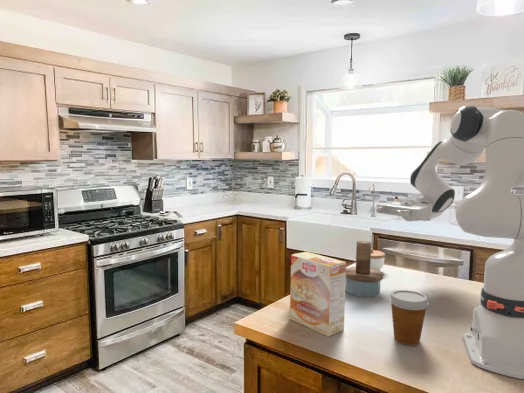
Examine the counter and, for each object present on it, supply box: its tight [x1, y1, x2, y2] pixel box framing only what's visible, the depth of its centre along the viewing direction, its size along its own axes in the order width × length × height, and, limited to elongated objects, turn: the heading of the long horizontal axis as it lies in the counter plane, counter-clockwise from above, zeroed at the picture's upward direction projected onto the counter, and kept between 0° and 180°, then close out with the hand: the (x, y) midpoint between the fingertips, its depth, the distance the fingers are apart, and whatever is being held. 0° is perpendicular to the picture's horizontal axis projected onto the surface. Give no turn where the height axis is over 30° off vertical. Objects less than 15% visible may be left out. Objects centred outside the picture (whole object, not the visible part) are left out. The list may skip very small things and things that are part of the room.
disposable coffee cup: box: [389, 289, 429, 346], centre depth 101 cm, size 10×10×12 cm
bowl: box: [345, 278, 382, 298], centre depth 138 cm, size 12×12×6 cm
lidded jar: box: [370, 248, 386, 271], centre depth 163 cm, size 11×11×9 cm
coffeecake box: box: [289, 251, 347, 337], centre depth 109 cm, size 15×7×20 cm, turn 40°
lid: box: [346, 240, 384, 282], centre depth 137 cm, size 14×14×12 cm
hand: (387, 211), depth 142 cm, fingers open, 8 cm apart
